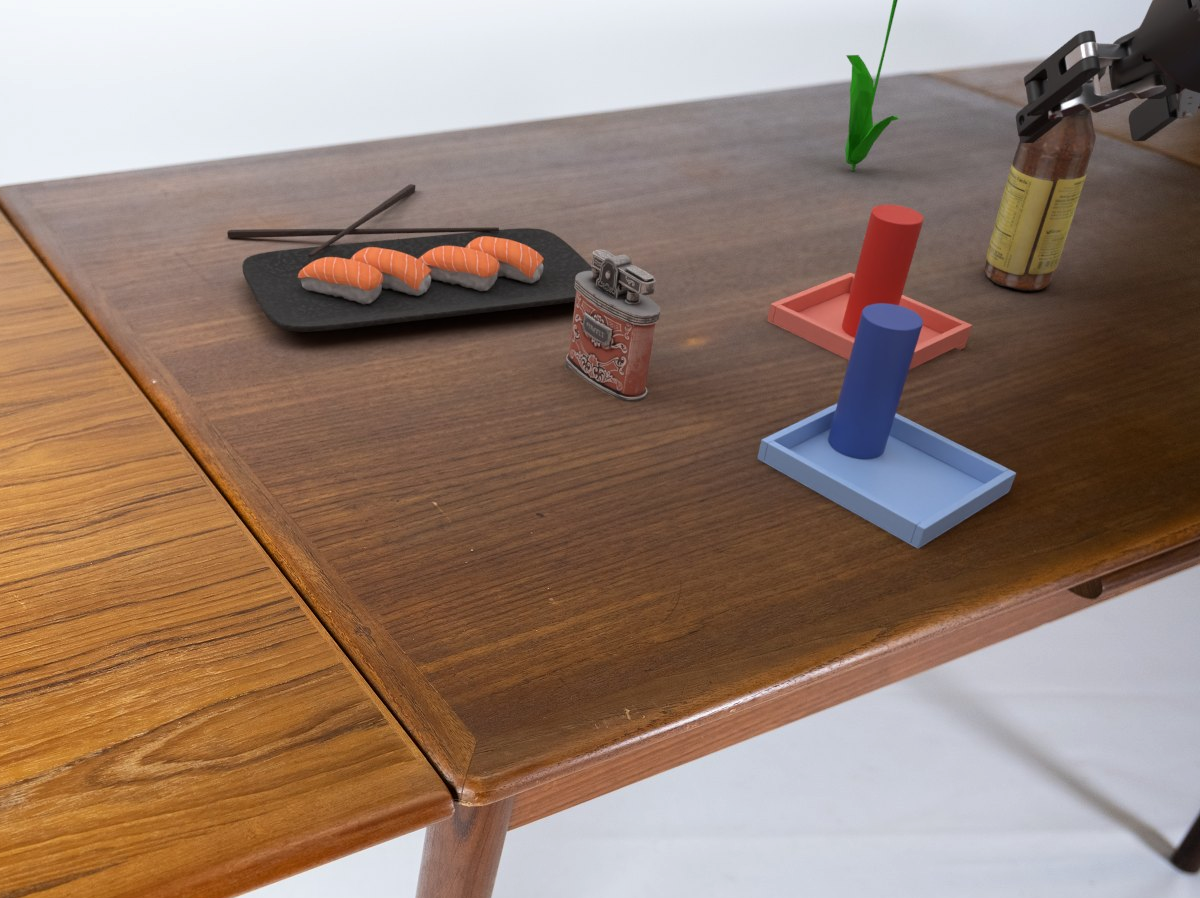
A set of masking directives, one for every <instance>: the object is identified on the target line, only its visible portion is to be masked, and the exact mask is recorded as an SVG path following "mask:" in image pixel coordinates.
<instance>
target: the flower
mask: <svg viewBox="0 0 1200 898" xmlns="http://www.w3.org/2000/svg"><path fill="white" fill-rule="evenodd" d="M898 1H899V0H892V4H891V9H890V15H889V20H888V24H887V29H886V34H885V39H884V43H883V49H882V52H881V56H880V60H879V65H878V68H877V71H876V72H877V73H876V77H875V79H873V77H872V75H871V73H870V71H869V69H868V67H867V65H866V63H865V61H863V59H862V58H861V56H860V55H859V54H847V55H846V58H847V59H848V61H849V63H850V65H851V79H850V80H851V81H850V87H849V98H850V99H849V103H850V104H849V105H850V106H849V119H848V135H847V140H846V143H845V147H844V148H845V149H844V152H845V163H847V164H849V165H851V170H850V171H851V172H855V171H856V170H855V169H856V166H857V165H858V164H860V163H862V162H863V161H864V159H866V158H867V156H868V154H869V152H870V151H871V149H872V147H873V145H874V143H875V142H876V141H877V140H878V138H880V136H881V134H882V133H883V131H884V130H885V129H886V128H887V127H888V126H889V125H890V123H891V122H893V121H896V120H899V117H898V116H897V115H895V116H894V115H891V116H887V117H886V118H884V119H881V120H879V121H878V122H875V124H874V122H873V120H874V119H873V106H874V101H875V96H876V92H877V89H878V84H879V80H880V75H881V71H882V67H883V63H884V58H885V55H886V50H887V47H888V42H889V37H890V34H891V29H892V26H893V21H894V16H895V12H896V10H897V9H896V8H897V5H898Z"/></svg>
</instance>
